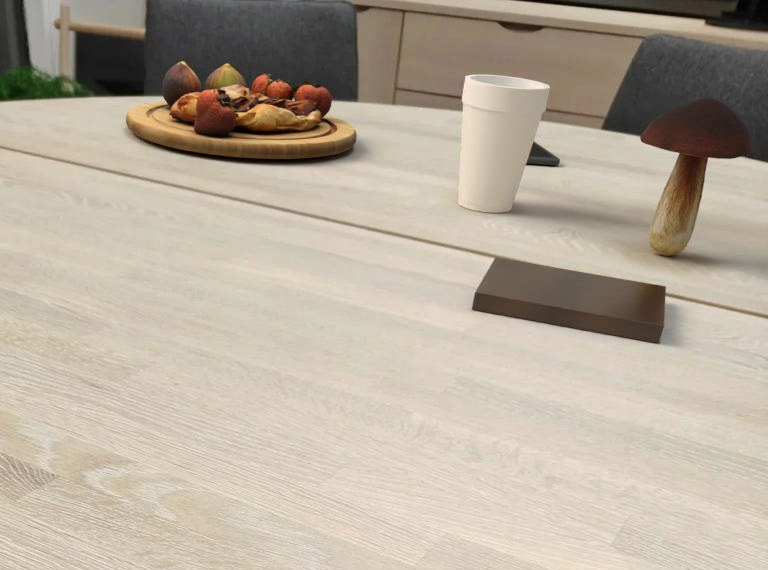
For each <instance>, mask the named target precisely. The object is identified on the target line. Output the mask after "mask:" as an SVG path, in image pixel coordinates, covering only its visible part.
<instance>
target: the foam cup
mask: <svg viewBox="0 0 768 570" xmlns="http://www.w3.org/2000/svg"><path fill="white" fill-rule="evenodd" d="M550 91H551V87H550V85H549V84H547V83H545V82H541V81H537V80H533V79H528V78H523V77H516V76H508V75H500V74H499V75H497V74H469V75H465V76H464V82H463V89H462V95H461V103H462V117H461V118H462V119H461V138H460V157H459V176H458V201H457V202H458V203H457V204H458V205H459V206H461V207H463V208H465V209H468V210H472V211H474V212H475V211H476V212H481V213H491V214H492V213H493V214H499V213H507V212H510V211H511V210H512V207H513V204H514V202H515V199H516V196H517V194H518V193H517V192H518V190H519V187H520V184H521V180H522V178H523V174H524V171H525V168H526V166H527V164H528V163H527V159H528V156H529V153H530V150H531V147H532V144H533V141H534V142H535V139H536V135H537V132H538V129H539V126H540V123H541V120H542V117H543V113H544V112H546V109H547V105H548V100H549V96H550Z"/></svg>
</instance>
